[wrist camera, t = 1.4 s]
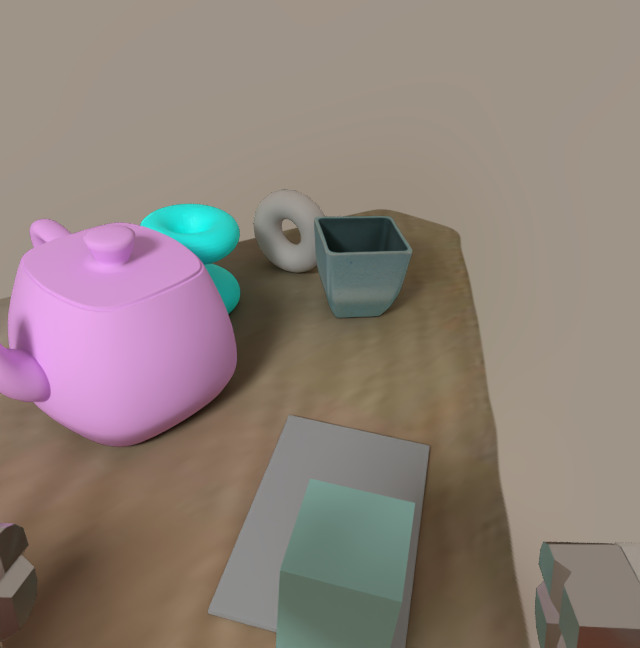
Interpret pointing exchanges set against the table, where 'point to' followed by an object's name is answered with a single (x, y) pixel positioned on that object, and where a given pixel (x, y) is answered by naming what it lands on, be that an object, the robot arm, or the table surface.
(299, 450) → the grey mat
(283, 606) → the teal block
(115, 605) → the table surface
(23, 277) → the teapot
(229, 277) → the donuts
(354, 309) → the flower pot
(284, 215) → the donut
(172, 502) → the table surface
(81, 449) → the table surface
